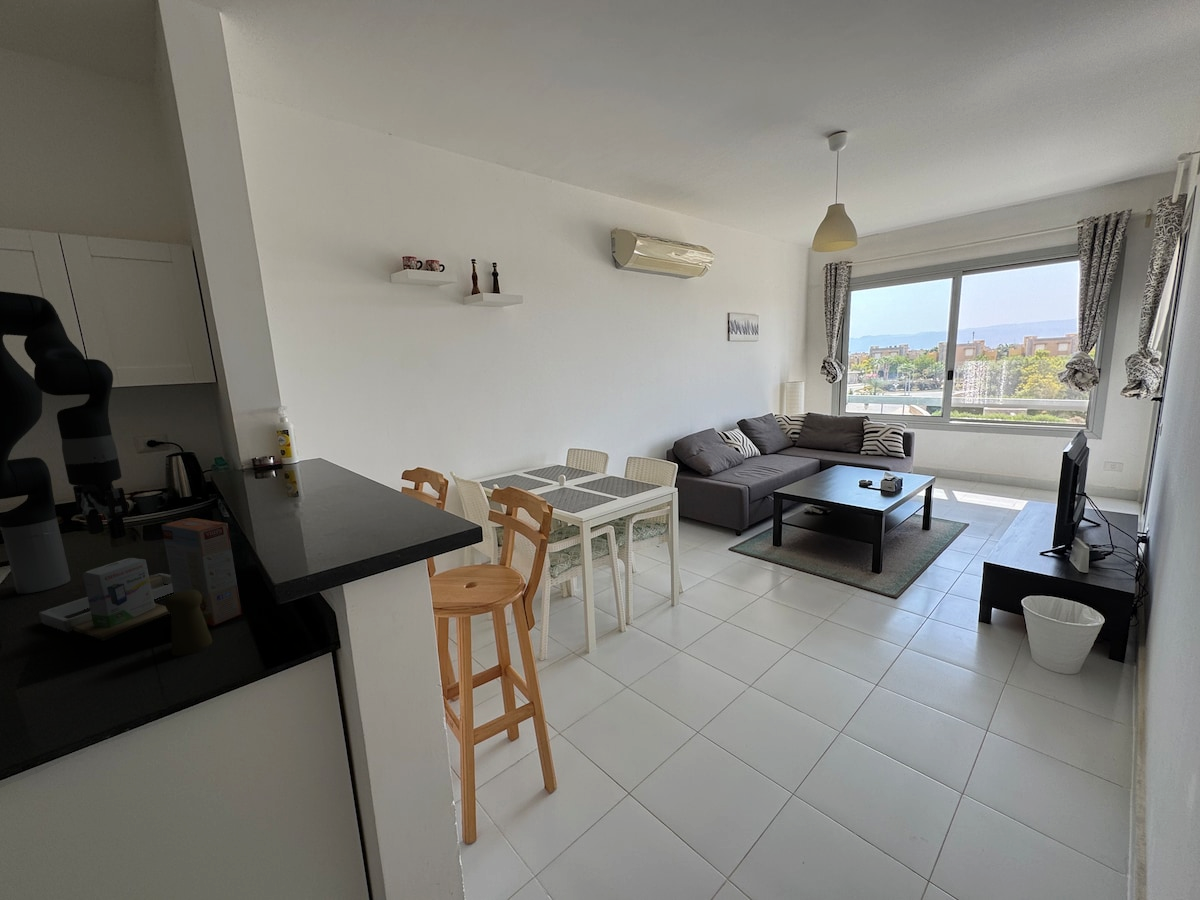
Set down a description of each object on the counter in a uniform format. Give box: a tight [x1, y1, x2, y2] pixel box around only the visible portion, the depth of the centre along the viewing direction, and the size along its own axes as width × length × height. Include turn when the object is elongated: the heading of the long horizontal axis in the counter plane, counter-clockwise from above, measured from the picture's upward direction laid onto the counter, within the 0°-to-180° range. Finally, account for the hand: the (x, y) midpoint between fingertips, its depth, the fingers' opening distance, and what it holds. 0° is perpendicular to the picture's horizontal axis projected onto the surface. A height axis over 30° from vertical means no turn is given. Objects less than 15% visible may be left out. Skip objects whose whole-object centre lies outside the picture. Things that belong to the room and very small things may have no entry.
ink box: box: [82, 557, 155, 628], centre depth 102 cm, size 9×5×12 cm, turn 166°
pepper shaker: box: [165, 590, 213, 657], centre depth 91 cm, size 6×6×11 cm
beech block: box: [149, 574, 164, 590], centre depth 116 cm, size 4×4×4 cm
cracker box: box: [160, 517, 243, 627], centre depth 103 cm, size 14×6×21 cm, turn 65°
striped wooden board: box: [73, 602, 170, 639], centre depth 103 cm, size 12×12×1 cm
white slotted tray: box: [38, 572, 173, 633], centre depth 111 cm, size 12×22×2 cm, turn 157°
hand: (107, 535), depth 100 cm, fingers open, 8 cm apart
